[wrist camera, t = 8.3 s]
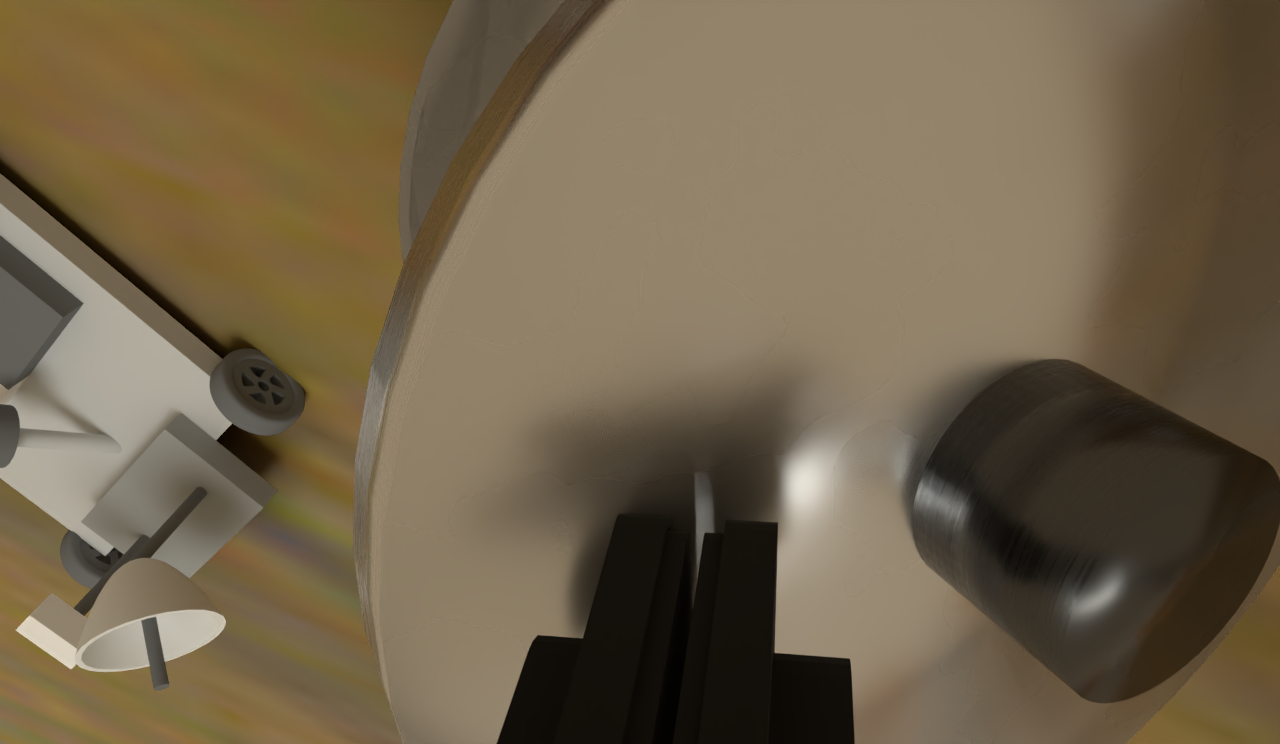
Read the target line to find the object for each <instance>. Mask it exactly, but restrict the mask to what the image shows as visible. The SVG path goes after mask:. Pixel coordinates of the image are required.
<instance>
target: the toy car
mask: <svg viewBox="0 0 1280 744" xmlns="http://www.w3.org/2000/svg"><path fill="white" fill-rule="evenodd" d="M304 405H305V395H304V390H303V388H302V386H301V385H300V384H299V383H297V382H296V381H295V380H294V379H293V378H291V377H290V376H288V375H287V374H285V373H284V372H282V371H281V370H279V369H278V368H277V367H276V365H275V364H274V363H273V362H272V361H271V360H270V359H269V358H268V357H267V356H266V355H264V354H263V353H262V352H261V351H259V350H257V349H251V348H243V349H238V350H235V351H232V352H231V353H229V354H228V355H226V356H225V357H224V358H223V359H222V358H221V357H219V356H218V355H217V354H216V353H215V352H213V351H212V350H211V349H210V348H209V347H207V346H206V345H205V344H204V343H203V342H201V341H200V340H199V339H198V338H197V337H195V336H194V335H193V334H192V333H191V332H189V331H188V330H187V329H186V328H185V327H183V326H182V325H181V324H180V323H179V322H177V321H176V320H175V319H174V318H173V317H171V316H170V315H169V314H168V313H167V312H166V311H164V310H163V309H162V308H161V307H160V306H158V305H157V304H156V303H155V302H154V301H152V300H151V299H150V298H149V297H148V296H146V295H145V294H144V293H143V292H142V291H140V290H139V289H138V288H137V287H136V286H134V285H133V284H132V283H131V282H130V281H128V280H127V279H126V278H125V277H124V276H122V275H121V274H120V273H119V272H118V271H116V270H115V269H114V268H113V267H112V266H110V265H109V264H108V263H107V262H106V261H104V260H103V259H102V258H101V257H100V256H98V255H97V254H96V253H95V252H94V251H93V250H91V249H90V248H89V247H88V246H87V245H85V244H84V243H83V242H82V241H81V240H79V239H78V238H77V237H76V236H75V235H73V234H72V233H71V232H70V231H69V230H67V229H66V228H65V227H64V226H63V225H61V224H60V223H59V222H58V221H57V220H55V219H54V218H53V217H52V216H51V215H49V214H48V213H47V212H46V211H45V210H43V209H42V208H41V207H40V206H39V205H37V204H36V203H35V202H34V201H33V200H31V199H30V198H29V197H28V196H27V195H25V194H24V193H23V192H22V191H21V190H20V189H18V188H17V187H16V186H15V185H14V184H12V183H11V182H10V181H9V180H8V179H6V178H5V177H4V176H3V175H2V174H0V478H1V479H2V480H4V481H5V482H6V483H8V484H9V485H10V486H12V487H13V488H14V489H16V490H17V491H18V492H20V493H21V494H22V495H24V496H25V497H26V498H28V499H29V500H30V501H32V502H33V503H34V504H36V505H37V506H38V507H40V508H41V509H42V510H44V511H45V512H46V513H48V514H49V515H50V516H52V517H53V518H55V519H56V520H57V521H59V522H60V523H61V524H63V525H64V526H65V527H67V528H68V529H69V530H68V532H67V533H66V534H65V536H64V538H63V540H62V543H61V547H60V555H61V560H62V563H63V565H64V567H65V569H66V571H67V572H68V573H69V575H70V576H71V577H72V578H73V579H74V580H76V581H77V582H78V583H80V584H82V585H83V586H85V587H88V588H90V589H91V590H90V591H89V592H88V593H87V594H86V595H85V597H84V598H83V599H82V600H81V601H80V602H79V603H78V604H77V605H76V606H75V607H74V608H72V607H71V606H69V605H68V604H67V603H65V602H64V601H62V600H61V599H60V598H58V597H57V596H56V595H54V594H53V593H51V594H50V595H49V596H48V597H47V598H46V599H45V600H44V601H43V602H42V603H41V604H40V605H39V606H38V607H37V608H36V609H35V610H34V611H33V612H32V613H31V614H30V615H29V617H28V618H27V619H26V620H25V621H24V622H23V623H22V624H21V625H20V626H19V627H18V628H17V629H16V631H17V632H19V633H20V634H22V635H23V636H24V637H26V638H27V639H29V640H30V641H32V642H33V643H34V644H36V645H37V646H39V647H40V648H41V649H43V650H44V651H46V652H47V653H49V654H50V655H51V656H53V657H54V658H56V659H57V660H58V661H60V662H61V663H63V664H64V665H66V666H67V667H68V668H70V669H72V668H73V667H74V666H75V665H76V664H77V665H78V666H79V667H80V668H83V669H86V670H89V671H98V672H114V671H125V670H132V669H138V668H143V667H147V666H150V671H151V676H152V682H153V687H154V690H161V689H165V688H167V687H168V686H169V681H168V676H167V671H166V666H165V662H166V661H169V660H172V659H175V658H178V657H180V656H182V655H185V654H187V653H190V652H192V651H194V650H196V649H198V648H200V647H202V646H203V645H205V644H207V643H208V642H210V641H211V640H213V639H214V638H215V637H217V636H218V635H219V634H220V633H221V631H222V630H223V629H224V627H225V624H226V621H225V619H224V616H223V615H222V614H221V613H220V611H219V610H218V609H217V608H216V606H215V605H214V604H213V603H212V602H211V600H210V599H209V598H208V597H207V596H206V595H205V594H204V593H203V591H202V590H201V589H200V588H199V587H198V586H197V585H196V584H195V583H193V582H192V581H191V580H190V579H189V578H190V577H191V576H192V575H193V574H194V573H195V572H196V571H197V570H199V569H200V568H201V567H202V566H203V565H204V564H205V563H206V562H207V561H208V560H209V559H210V558H211V557H212V556H213V555H214V554H215V553H216V552H217V551H219V550H220V549H221V548H222V547H223V546H224V545H225V544H226V543H227V542H228V541H229V540H230V539H231V538H232V537H233V536H234V535H235V534H236V533H237V532H239V531H240V530H241V529H242V528H243V527H244V526H245V525H246V524H247V523H248V522H249V521H250V520H251V519H252V518H253V517H254V516H255V515H256V514H258V513H259V512H260V511H261V510H262V509H263V508H264V507H265V505H266V504H267V503H268V502H269V500H270V499H271V498H272V496H273V495H274V494H275V493H276V491H277V489H275V488H274V487H273V486H272V485H270V484H269V483H268V482H267V481H265V480H264V479H263V478H262V477H260V476H259V475H258V474H257V473H256V472H254V471H253V470H252V469H251V468H249V467H248V466H247V465H246V464H244V463H243V462H242V461H241V460H239V459H238V458H237V457H236V456H235V455H233V454H232V453H231V452H230V451H228V450H227V449H226V448H225V447H223V446H222V445H221V444H220V443H218V442H217V441H216V440H217V439H218V438H219V437H220V436H221V435H222V434H223V433H224V432H225V431H226V429H227V428H228V427H229V426H230V425H231V424H232V423H233V424H234V425H236V426H237V427H239V428H241V429H242V430H245V431H247V432H250V433H253V434H257V435H265V436H268V435H275V434H279V433H281V432H283V431H285V430H286V429H287V428H288V427H290V426H291V425H292V424H293V423H294V422H295V421H296V420H297V419H298V418H299V416H300V415H301V413H302V412H303V409H304ZM91 608H92V609H91ZM90 609H91V612H90V614H89V616H88V619H87V618H86V617H85V615H86V613H87V612H88V611H89V610H90Z"/></svg>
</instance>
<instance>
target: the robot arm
mask: <svg viewBox="0 0 1280 744" xmlns="http://www.w3.org/2000/svg"><path fill="white" fill-rule="evenodd" d="M777 547H778V522H760V521H742V520H726V522H725V527H724V534H723V533H706V532H705V534H704V538H703V545H702V551H701V558H700V565H699V571H698V578H697V585H696V591H695V598H694V605H693V600H692V561H691V535H690V532H687V531H673V530H672V521H671V518H670V517H669V516H651V515H633V514H619V515H618V516H617V518H616V521H615V524H614V528H613V532H612V535H611V539H610V542H609V546H608V549H607V553H606V557H605V560H604V564H603V567H602V571H601V575H600V578H599V582H598V585H597V589H596V592H595V596H594V600H593V603H592V607H591V610H590V614H589V618H588V621H587V625H586V628H585V632H584V635H583V638H570V637H557V636H544V635H537V636H536V638H535V639H534V640H533V641H532V644H531V646H530V648H529V651H528V653H527V656H526V659H525V662H524V665H523V668H522V671H521V674H520V677H519V679H518V682H517V685H516V688H515V691H514V694H513V697H512V700H511V703H510V706H509V709H508V712H507V715H506V718H505V721H504V724H503V727H502V729H501V732H500V735H499V738H498V741H497V744H855V737H854V715H853V693H852V674H851V663H850V658H836V657H823V656H810V655H797V654H783V653H775V620H776V584H777Z"/></svg>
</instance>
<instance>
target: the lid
mask: <svg viewBox="0 0 1280 744" xmlns="http://www.w3.org/2000/svg"><path fill="white" fill-rule="evenodd" d="M619 514H633V515H651V516H669V517H670V518H671V521H672V530H673V531H687V532H690V535H691V561H692V600H693V605H694V598H695V591H696V585H697V578H698V571H699V565H700V558H701V551H702V545H703V538H704V534H705V532H706V533H723V534H724V527H725V522H726V520H742V521H760V522H778V547H777V584H776V620H775V653H783V654H797V655H810V656H823V657H836V658H850V663H851V674H852V693H853V715H854V737H855V744H1125V743H1127V742H1128V741H1129V740H1130V739H1131V738H1132V737H1133V736H1134V735H1135V734H1136V733H1137V732H1138V731H1139V730H1140V729H1141V728H1142V727H1143V726H1144V725H1145V724H1146V723H1147V722H1148V721H1149V720H1150V719H1151V718H1152V717H1153V716H1154V715H1155V714H1156V713H1157V712H1158V711H1159V710H1160V709H1161V708H1162V707H1163V706H1164V705H1165V704H1166V703H1167V702H1168V701H1169V700H1170V699H1171V698H1172V697H1173V696H1174V695H1175V694H1176V693H1177V692H1178V691H1179V690H1180V689H1181V687H1182V686H1183V685H1184V684H1185V683H1186V682H1187V681H1188V680H1189V678H1190V677H1191V676H1192V675H1193V674H1194V673H1195V672H1196V671H1197V669H1198V668H1199V667H1200V666H1201V665H1202V664H1203V663H1204V662H1205V661H1206V659H1207V658H1208V657H1209V656H1210V655H1211V654H1212V653H1213V652H1214V650H1215V649H1216V648H1217V647H1218V646H1219V644H1220V643H1221V642H1222V641H1223V639H1224V638H1225V637H1226V635H1227V634H1228V633H1229V632H1230V630H1231V629H1232V628H1233V627H1234V625H1235V624H1236V623H1237V622H1238V620H1239V619H1240V618H1241V617H1242V615H1243V614H1244V613H1245V612H1246V610H1247V609H1248V608H1249V607H1250V605H1251V604H1252V603H1253V602H1254V600H1255V599H1256V597H1257V596H1258V595H1259V593H1260V592H1261V590H1262V589H1263V587H1264V586H1265V585H1266V583H1267V582H1268V580H1269V579H1270V578H1271V576H1272V575H1273V573H1274V572H1275V571H1276V569H1277V568H1278V566H1279V565H1280V0H565V1H564V2H563V3H562V4H561V6H560V7H559V8H558V9H557V10H556V12H555V13H554V14H553V15H552V16H551V18H550V19H549V20H548V21H547V23H546V24H545V25H544V26H543V27H542V29H541V30H540V31H539V32H538V33H537V35H536V36H535V37H534V38H533V39H532V41H531V42H530V43H529V44H528V46H527V47H526V48H525V49H524V50H523V52H522V53H521V54H520V55H519V56H518V58H517V59H516V60H515V61H514V63H513V65H512V66H511V68H510V69H509V71H508V73H507V74H506V76H505V77H504V79H503V80H502V82H501V84H500V85H499V87H498V88H497V90H496V91H495V93H494V95H493V96H492V98H491V99H490V101H489V103H488V104H487V106H486V107H485V109H484V110H483V112H482V114H481V115H480V117H479V118H478V120H477V121H476V123H475V125H474V126H473V128H472V129H471V131H470V133H469V134H468V136H467V137H466V139H465V140H464V142H463V144H462V145H461V147H460V148H459V150H458V151H457V153H456V155H455V156H454V158H453V159H452V161H451V163H450V165H449V168H448V170H447V172H446V174H445V176H444V178H443V180H442V183H441V185H440V187H439V189H438V191H437V193H436V195H435V197H434V200H433V202H432V204H431V206H430V208H429V210H428V212H427V215H426V217H425V219H424V221H423V223H422V225H421V227H420V229H419V232H418V234H417V236H416V238H415V240H414V242H413V244H412V247H411V249H410V251H409V253H408V255H407V257H406V259H405V261H404V264H403V267H402V270H401V273H400V276H399V279H398V283H397V286H396V289H395V292H394V295H393V298H392V301H391V305H390V308H389V311H388V314H387V317H386V320H385V324H384V327H383V330H382V333H381V336H380V339H379V342H378V346H377V349H376V352H375V355H374V358H373V361H372V364H371V370H370V375H369V381H368V387H367V393H366V399H365V405H364V411H363V416H362V422H361V428H360V434H359V440H358V446H357V451H356V457H355V473H354V523H353V555H354V562H355V568H356V575H357V582H358V589H359V596H360V603H361V610H362V617H363V624H364V630H365V633H366V636H367V639H368V642H369V645H370V648H371V651H372V654H373V657H374V660H375V663H376V666H377V669H378V672H379V675H380V678H381V681H382V684H383V687H384V690H385V693H386V696H387V699H388V702H389V705H390V708H391V711H392V714H393V716H394V719H395V722H396V725H397V728H398V731H399V733H400V736H401V739H402V742H403V744H497V741H498V738H499V735H500V732H501V729H502V727H503V724H504V721H505V718H506V715H507V712H508V709H509V706H510V703H511V700H512V697H513V694H514V691H515V688H516V685H517V682H518V679H519V677H520V674H521V671H522V668H523V665H524V662H525V659H526V656H527V653H528V651H529V648H530V646H531V644H532V641H533V640H534V639H535V638H536V636H537V635H544V636H557V637H570V638H583V635H584V632H585V628H586V625H587V621H588V618H589V614H590V610H591V607H592V603H593V600H594V596H595V592H596V589H597V585H598V582H599V578H600V575H601V571H602V567H603V564H604V560H605V557H606V553H607V549H608V546H609V542H610V539H611V535H612V532H613V528H614V524H615V521H616V518H617V516H618V515H619Z"/></svg>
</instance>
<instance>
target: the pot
mask: <svg viewBox="0 0 1280 744" xmlns="http://www.w3.org/2000/svg"><path fill="white" fill-rule="evenodd" d="M564 1H565V0H453V2H452V4H451V6H450V8H449V10H448V13H447V15H446V17H445V19H444V21H443V23H442V25H441V27H440V29H439V32H438V34H437V36H436V38H435V40H434V42H433V44H432V46H431V49H430V51H429V53H428V55H427V58H426V61H425V64H424V67H423V70H422V74H421V77H420V80H419V83H418V86H417V90H416V93H415V96H414V99H413V102H412V106H411V109H410V112H409V118H408V124H407V130H406V136H405V142H404V148H403V154H402V160H401V166H400V196H399V228H400V238H401V248H402V257H403V264H404V261H405V259H406V257H407V255H408V253H409V251H410V249H411V247H412V244H413V242H414V240H415V238H416V236H417V234H418V232H419V229H420V227H421V225H422V223H423V221H424V219H425V217H426V215H427V212H428V210H429V208H430V206H431V204H432V202H433V200H434V197H435V195H436V193H437V191H438V189H439V187H440V185H441V183H442V180H443V178H444V176H445V174H446V172H447V170H448V168H449V165H450V163H451V161H452V159H453V158H454V156H455V155H456V153H457V151H458V150H459V148H460V147H461V145H462V144H463V142H464V140H465V139H466V137H467V136H468V134H469V133H470V131H471V129H472V128H473V126H474V125H475V123H476V121H477V120H478V118H479V117H480V115H481V114H482V112H483V110H484V109H485V107H486V106H487V104H488V103H489V101H490V99H491V98H492V96H493V95H494V93H495V91H496V90H497V88H498V87H499V85H500V84H501V82H502V80H503V79H504V77H505V76H506V74H507V73H508V71H509V69H510V68H511V66H512V65H513V63H514V61H515V60H516V59H517V58H518V56H519V55H520V54H521V53H522V52H523V50H524V49H525V48H526V47H527V46H528V44H529V43H530V42H531V41H532V39H533V38H534V37H535V36H536V35H537V33H538V32H539V31H540V30H541V29H542V27H543V26H544V25H545V24H546V23H547V21H548V20H549V19H550V18H551V16H552V15H553V14H554V13H555V12H556V10H557V9H558V8H559V7H560V6H561V4H562V3H563V2H564Z"/></svg>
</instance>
